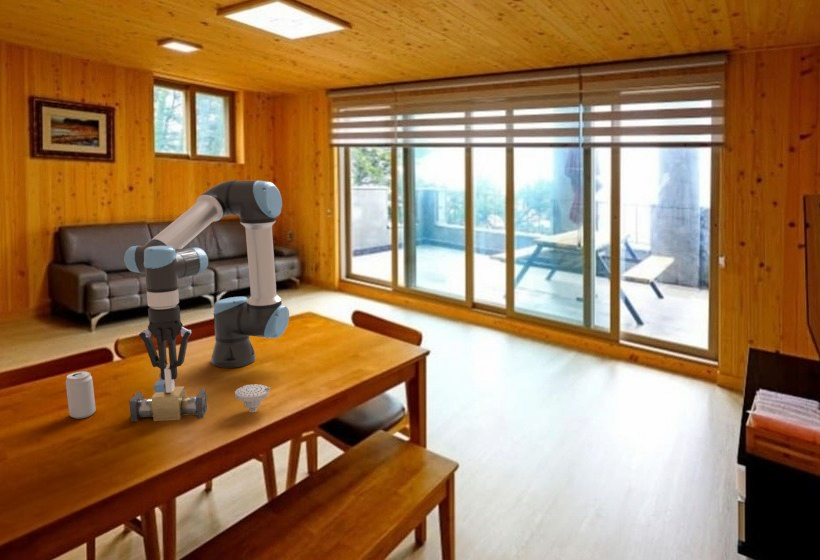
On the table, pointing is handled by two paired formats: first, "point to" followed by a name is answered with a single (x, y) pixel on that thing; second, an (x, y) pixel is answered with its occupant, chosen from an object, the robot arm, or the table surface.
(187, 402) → the pipe in
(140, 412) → the pipe out
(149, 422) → the table surface
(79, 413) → the beverage can
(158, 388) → the lever
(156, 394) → the valve
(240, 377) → the table surface
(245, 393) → the showerhead
